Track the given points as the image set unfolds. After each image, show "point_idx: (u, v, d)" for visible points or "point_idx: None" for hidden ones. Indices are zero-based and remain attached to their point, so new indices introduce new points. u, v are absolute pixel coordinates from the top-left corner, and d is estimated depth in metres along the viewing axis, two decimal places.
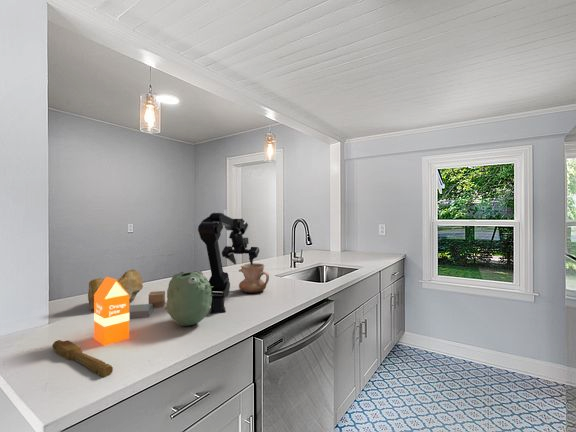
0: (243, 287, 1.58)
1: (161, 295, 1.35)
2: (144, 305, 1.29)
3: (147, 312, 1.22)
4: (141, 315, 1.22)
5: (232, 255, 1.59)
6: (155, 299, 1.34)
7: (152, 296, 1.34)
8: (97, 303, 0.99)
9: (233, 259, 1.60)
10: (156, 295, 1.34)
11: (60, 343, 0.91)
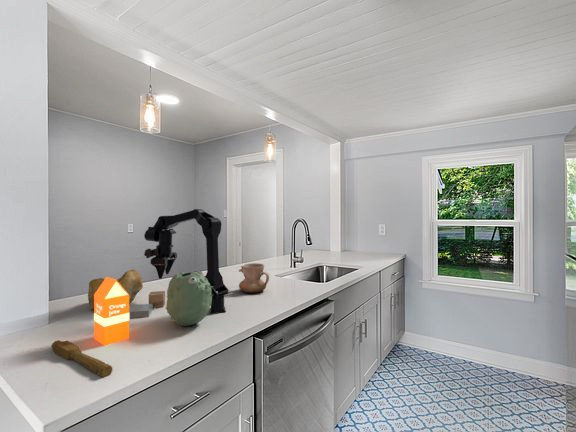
0: (243, 287, 1.58)
1: (161, 295, 1.35)
2: (144, 305, 1.29)
3: (147, 312, 1.22)
4: (141, 315, 1.22)
5: None
6: (155, 299, 1.34)
7: (152, 296, 1.34)
8: (97, 303, 0.99)
9: None
10: (156, 295, 1.34)
11: (59, 343, 0.91)
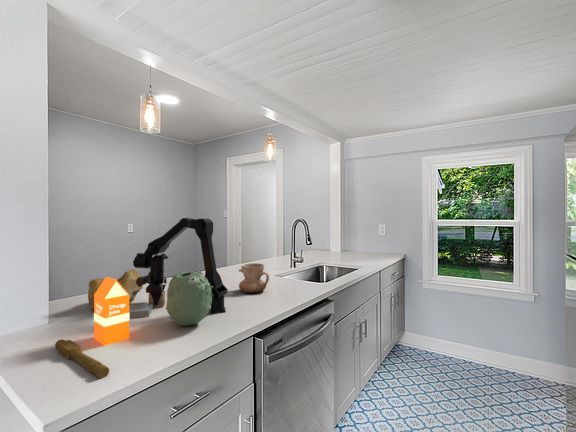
0: (243, 287, 1.58)
1: (161, 295, 1.35)
2: (144, 305, 1.29)
3: (147, 312, 1.22)
4: (141, 315, 1.22)
5: None
6: None
7: None
8: (97, 303, 0.99)
9: None
10: None
11: (62, 342, 0.91)
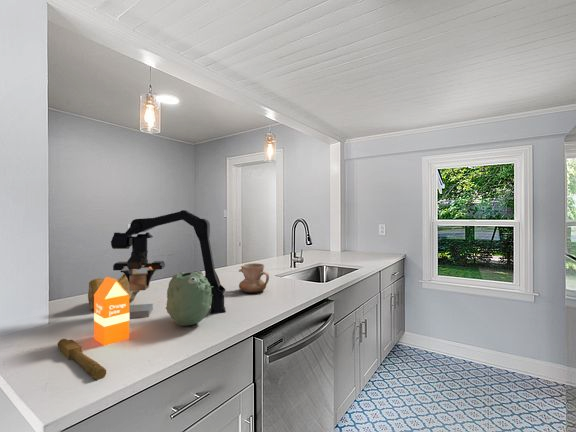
0: (243, 287, 1.58)
1: None
2: (144, 305, 1.29)
3: (147, 312, 1.22)
4: (141, 315, 1.22)
5: None
6: None
7: (146, 276, 1.26)
8: (97, 303, 0.99)
9: None
10: None
11: (64, 342, 0.92)
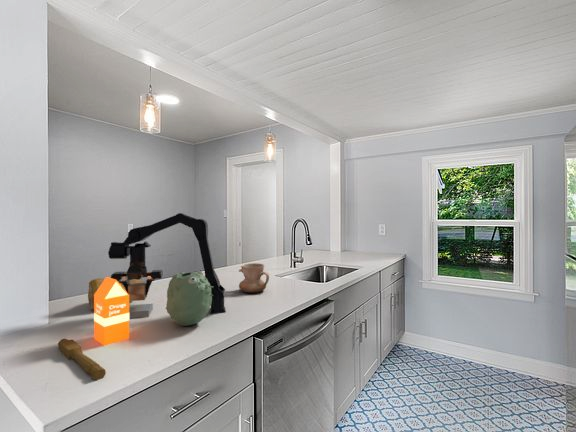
0: (243, 287, 1.58)
1: None
2: (144, 305, 1.29)
3: (147, 312, 1.22)
4: (141, 315, 1.22)
5: None
6: (145, 288, 1.27)
7: (145, 286, 1.25)
8: (97, 303, 0.99)
9: None
10: (145, 284, 1.27)
11: (64, 342, 0.92)
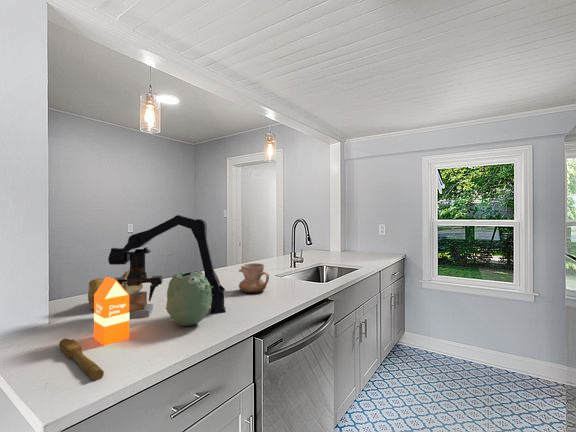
0: (243, 287, 1.58)
1: (146, 293, 1.29)
2: None
3: (147, 312, 1.22)
4: (141, 315, 1.22)
5: None
6: (145, 298, 1.27)
7: (145, 295, 1.25)
8: (97, 303, 0.99)
9: None
10: (145, 293, 1.27)
11: (65, 342, 0.92)
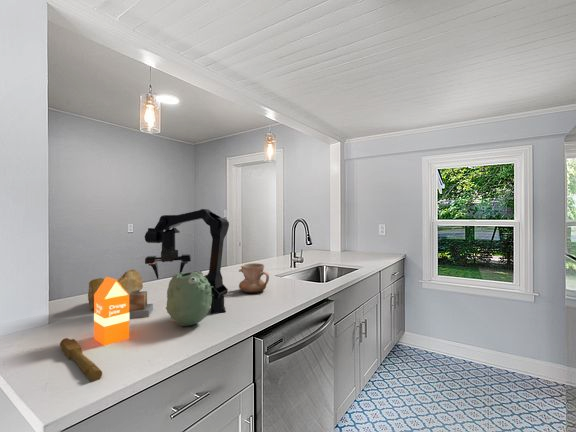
0: (243, 287, 1.58)
1: (146, 293, 1.29)
2: None
3: (147, 312, 1.22)
4: (141, 315, 1.22)
5: None
6: (145, 298, 1.27)
7: (145, 295, 1.25)
8: (97, 303, 0.99)
9: (180, 269, 1.38)
10: (145, 293, 1.27)
11: (65, 341, 0.92)
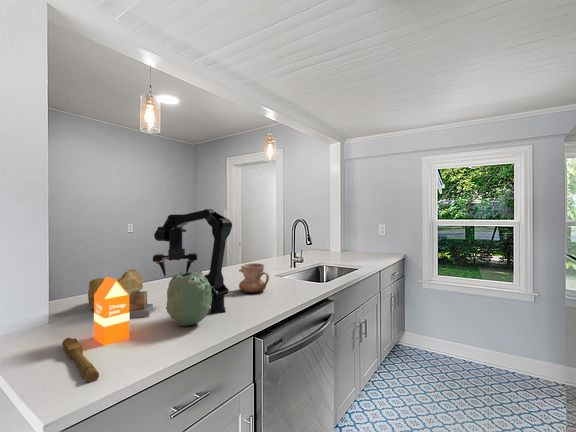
0: (243, 287, 1.58)
1: (146, 293, 1.29)
2: None
3: (147, 312, 1.22)
4: (141, 315, 1.22)
5: (187, 263, 1.41)
6: (145, 298, 1.27)
7: (145, 295, 1.25)
8: (97, 303, 0.99)
9: None
10: (145, 293, 1.27)
11: (67, 341, 0.92)
